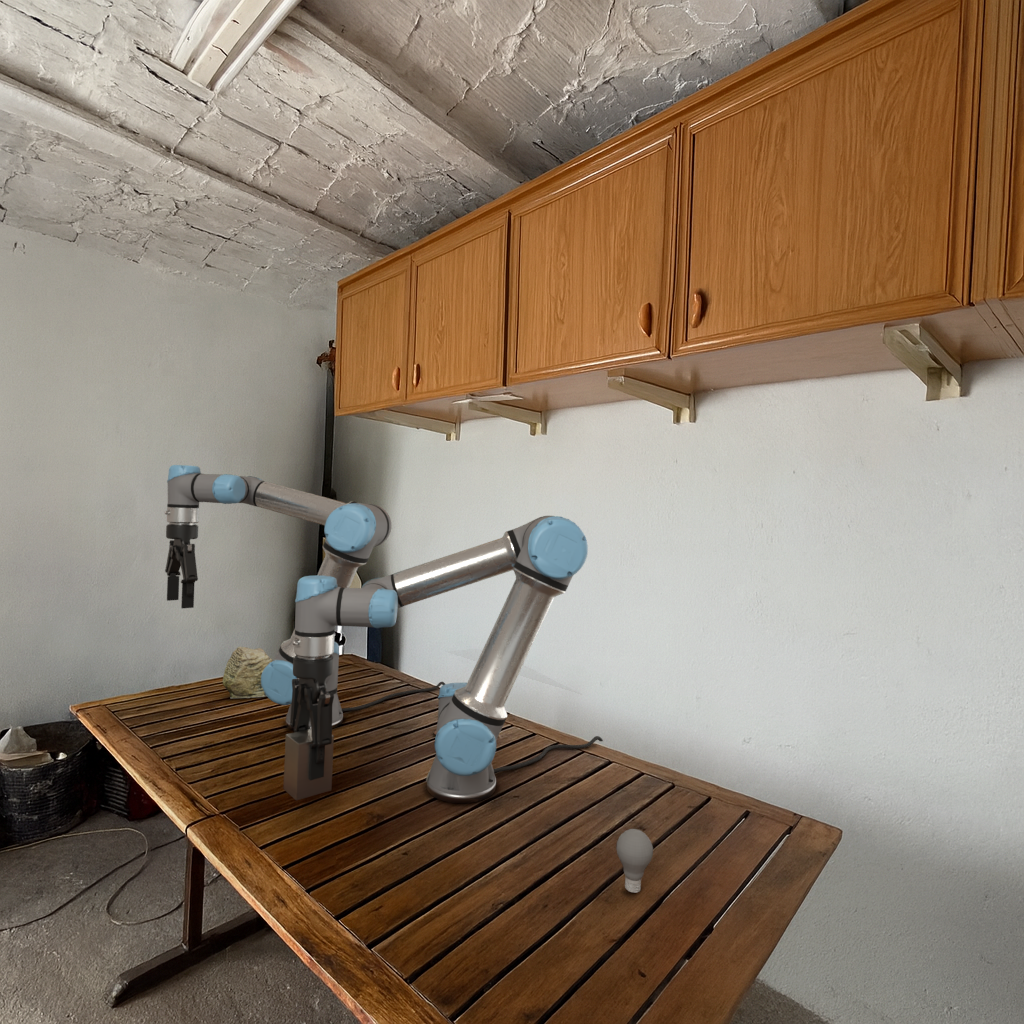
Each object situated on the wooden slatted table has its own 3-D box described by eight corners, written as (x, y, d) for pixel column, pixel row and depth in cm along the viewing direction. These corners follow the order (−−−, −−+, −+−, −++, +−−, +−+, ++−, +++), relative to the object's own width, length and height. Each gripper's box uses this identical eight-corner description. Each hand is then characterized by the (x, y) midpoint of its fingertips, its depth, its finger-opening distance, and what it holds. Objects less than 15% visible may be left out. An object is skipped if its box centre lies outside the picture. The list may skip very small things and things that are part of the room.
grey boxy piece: (283, 789, 124) (285, 734, 124) (317, 779, 129) (320, 726, 129) (296, 800, 120) (298, 743, 120) (331, 790, 125) (334, 735, 125)
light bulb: (610, 879, 108) (613, 822, 108) (644, 879, 109) (647, 822, 109) (619, 902, 102) (622, 840, 102) (655, 901, 103) (658, 840, 103)
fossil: (218, 695, 195) (220, 647, 195) (278, 685, 208) (279, 640, 207) (228, 703, 189) (230, 653, 188) (289, 692, 201) (290, 645, 201)
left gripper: (154, 521, 174) (151, 598, 174) (180, 526, 155) (177, 612, 156) (184, 521, 179) (181, 596, 179) (213, 526, 160) (210, 610, 161)
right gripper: (275, 647, 129) (270, 760, 129) (317, 668, 115) (311, 795, 115) (310, 643, 134) (305, 751, 134) (354, 663, 120) (349, 784, 120)
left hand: (179, 604), depth 167 cm, fingers open, 13 cm apart
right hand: (308, 771), depth 125 cm, fingers closed on grey boxy piece, 6 cm apart
